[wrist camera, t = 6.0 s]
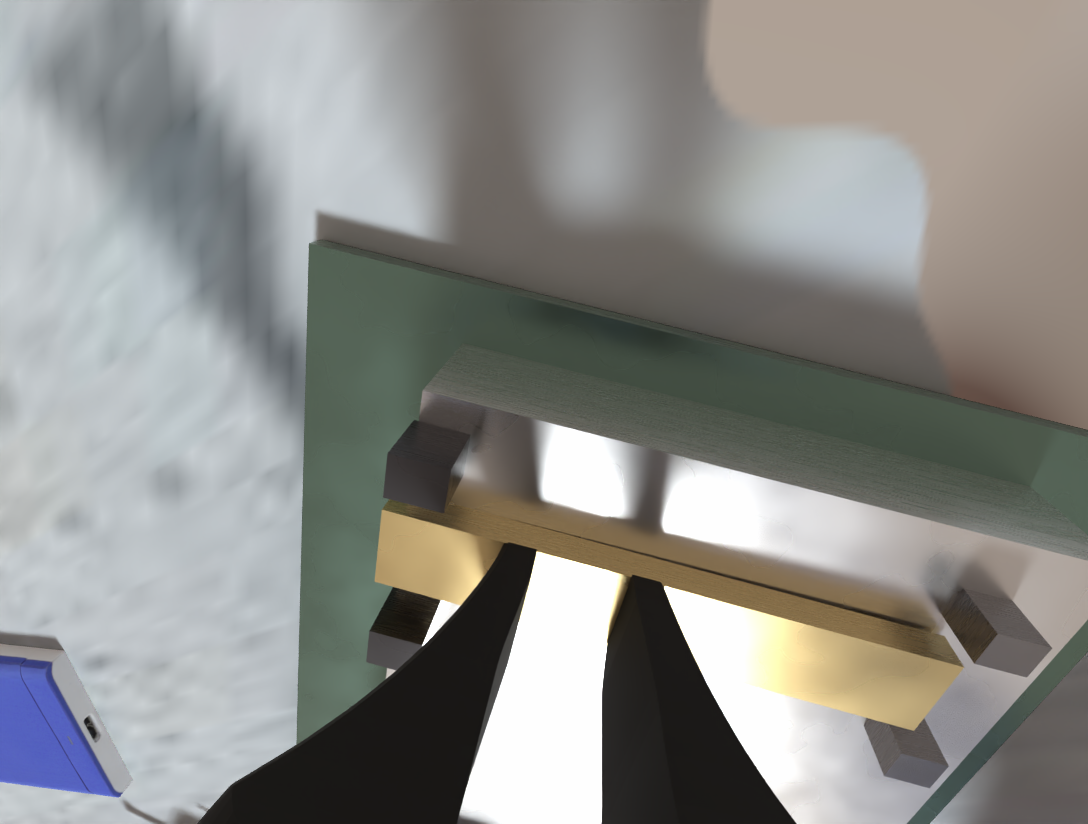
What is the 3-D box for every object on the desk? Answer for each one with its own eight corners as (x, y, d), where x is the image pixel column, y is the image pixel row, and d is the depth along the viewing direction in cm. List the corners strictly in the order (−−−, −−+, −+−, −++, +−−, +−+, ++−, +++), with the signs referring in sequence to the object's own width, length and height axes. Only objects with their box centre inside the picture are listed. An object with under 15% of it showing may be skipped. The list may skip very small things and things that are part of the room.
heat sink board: (1222, 463, 13) (1528, 627, 9) (822, 916, 23) (868, 1103, 18) (321, 239, 14) (174, 283, 9) (303, 770, 24) (226, 916, 19)
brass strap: (944, 636, 12) (964, 667, 11) (898, 698, 13) (913, 731, 12) (396, 488, 12) (381, 509, 12) (388, 558, 13) (374, 581, 13)
